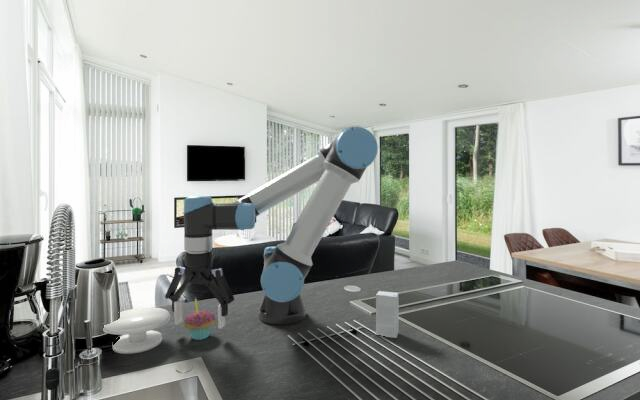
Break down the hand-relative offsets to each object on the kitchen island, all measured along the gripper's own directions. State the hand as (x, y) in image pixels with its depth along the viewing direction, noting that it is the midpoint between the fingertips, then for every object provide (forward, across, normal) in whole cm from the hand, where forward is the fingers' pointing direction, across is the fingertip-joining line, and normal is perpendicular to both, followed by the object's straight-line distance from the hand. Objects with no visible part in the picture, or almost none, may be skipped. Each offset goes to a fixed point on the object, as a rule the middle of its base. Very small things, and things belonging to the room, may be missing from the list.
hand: (199, 324), depth 105 cm
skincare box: (+3, -52, -13) cm, 54 cm away
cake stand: (+3, +14, +8) cm, 16 cm away
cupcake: (+4, 0, 0) cm, 4 cm away
